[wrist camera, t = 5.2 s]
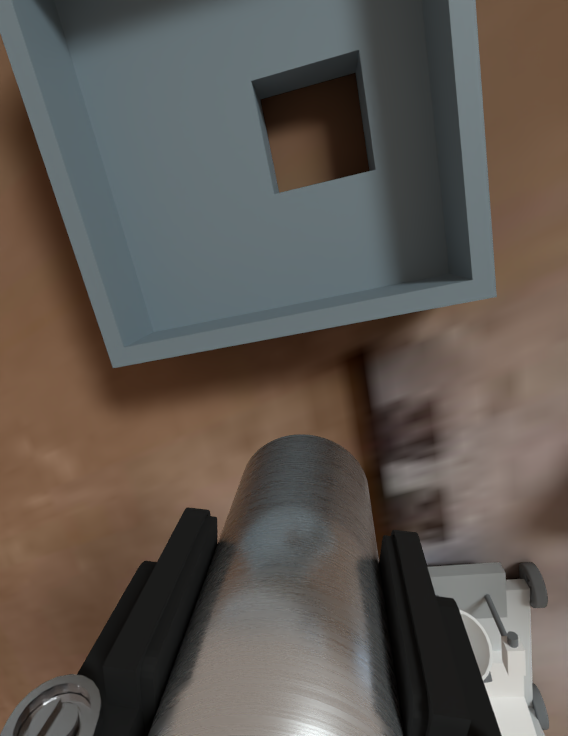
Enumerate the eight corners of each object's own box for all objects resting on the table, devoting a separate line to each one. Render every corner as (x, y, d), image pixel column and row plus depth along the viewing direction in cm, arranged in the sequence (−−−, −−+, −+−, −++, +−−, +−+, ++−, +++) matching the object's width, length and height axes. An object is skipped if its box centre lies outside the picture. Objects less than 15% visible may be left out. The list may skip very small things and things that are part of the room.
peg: (361, 549, 14) (431, 1274, 4) (241, 536, 14) (53, 1174, 5) (375, 440, 12) (518, 1122, 3) (242, 429, 13) (-16, 1001, 3)
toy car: (388, 653, 24) (612, 645, 22) (372, 536, 33) (528, 524, 31) (417, 853, 28) (603, 860, 27) (396, 702, 38) (532, 699, 36)
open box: (454, 282, 26) (496, 296, 20) (161, 339, 30) (112, 368, 23) (415, -113, 21) (455, -275, 14) (63, 9, 24) (-38, -79, 18)
